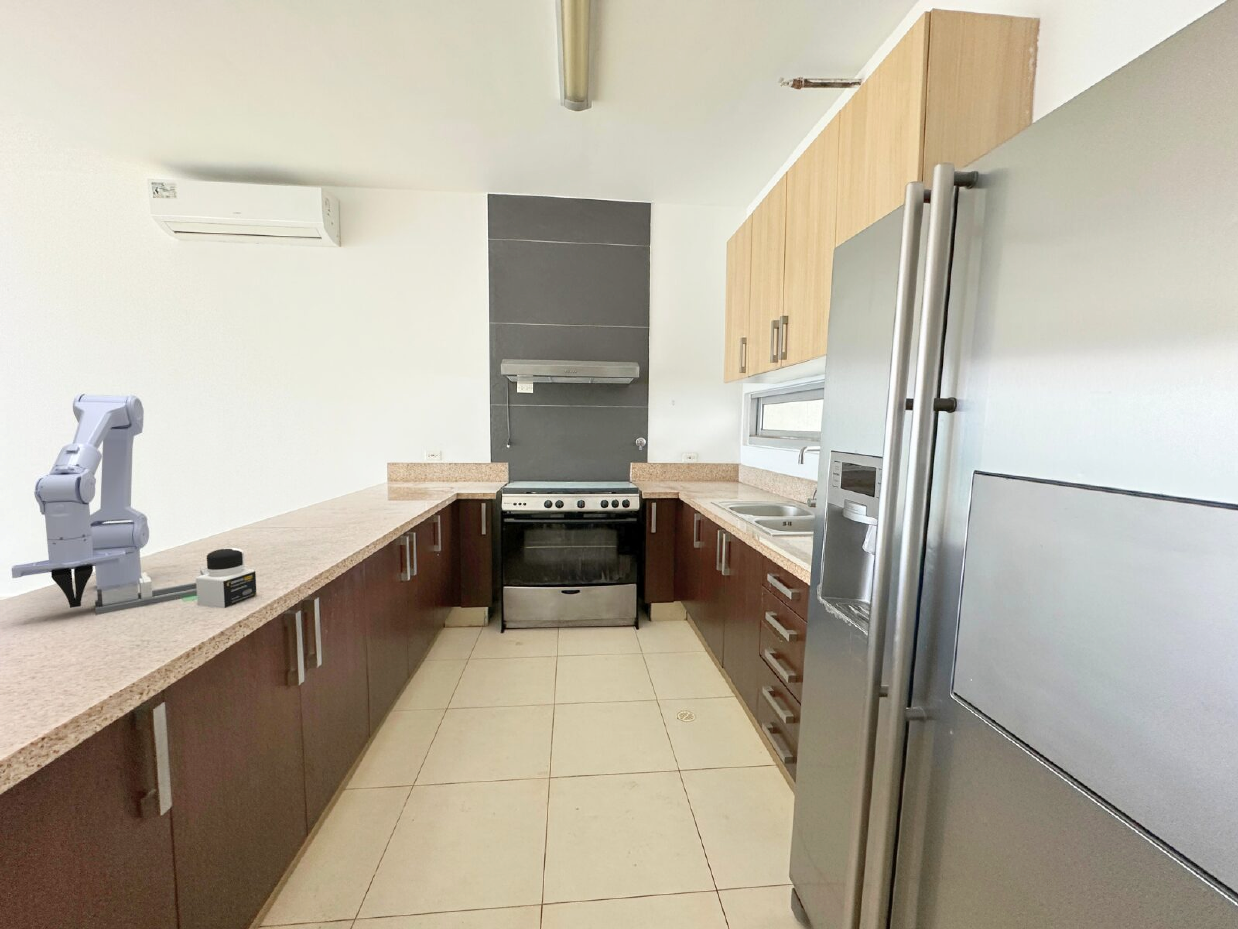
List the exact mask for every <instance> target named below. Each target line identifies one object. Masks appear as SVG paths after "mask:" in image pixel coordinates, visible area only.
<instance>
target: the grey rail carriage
mask: <svg viewBox="0 0 1238 929" xmlns="http://www.w3.org/2000/svg"><path fill="white" fill-rule="evenodd" d="M138 590H139V589H138V584H137V583H136V581H133V582H127V583H121V584H115V585H109V586H103V587H101V589H96V593H97V595H96V596H97V600H98V607H103V606H108V605H114V604H119V603H124V602H130V601H135V600H139V599H138V593H139V592H138Z"/></svg>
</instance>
